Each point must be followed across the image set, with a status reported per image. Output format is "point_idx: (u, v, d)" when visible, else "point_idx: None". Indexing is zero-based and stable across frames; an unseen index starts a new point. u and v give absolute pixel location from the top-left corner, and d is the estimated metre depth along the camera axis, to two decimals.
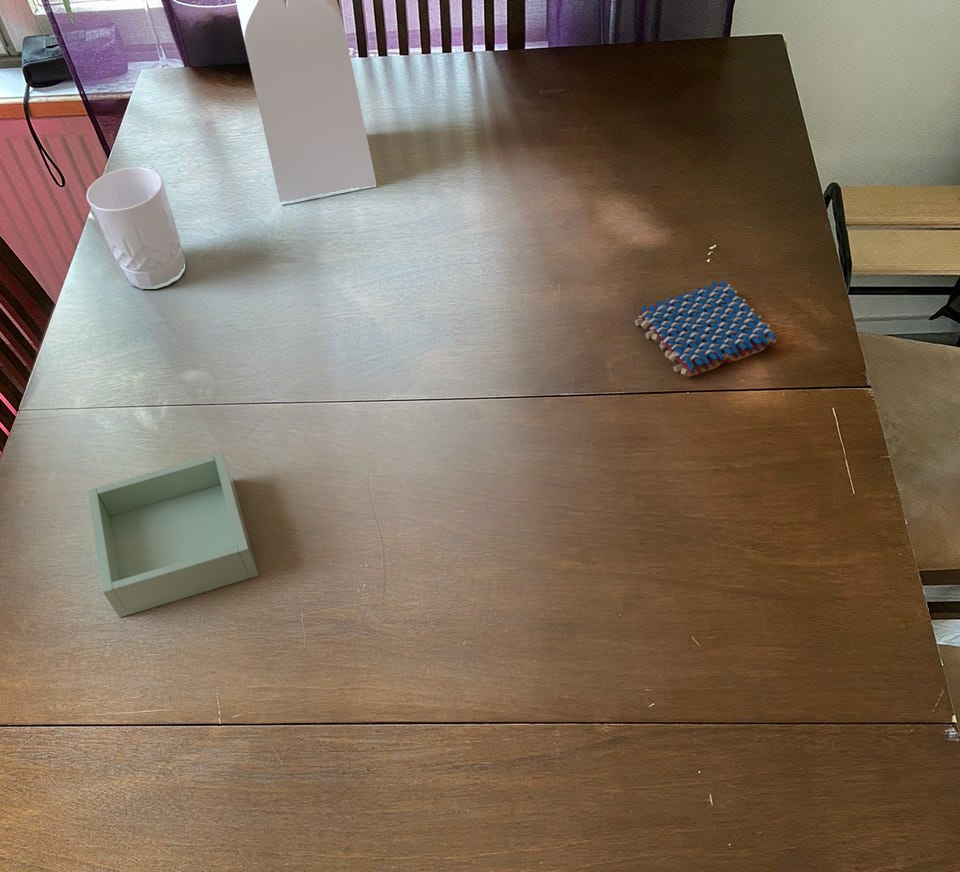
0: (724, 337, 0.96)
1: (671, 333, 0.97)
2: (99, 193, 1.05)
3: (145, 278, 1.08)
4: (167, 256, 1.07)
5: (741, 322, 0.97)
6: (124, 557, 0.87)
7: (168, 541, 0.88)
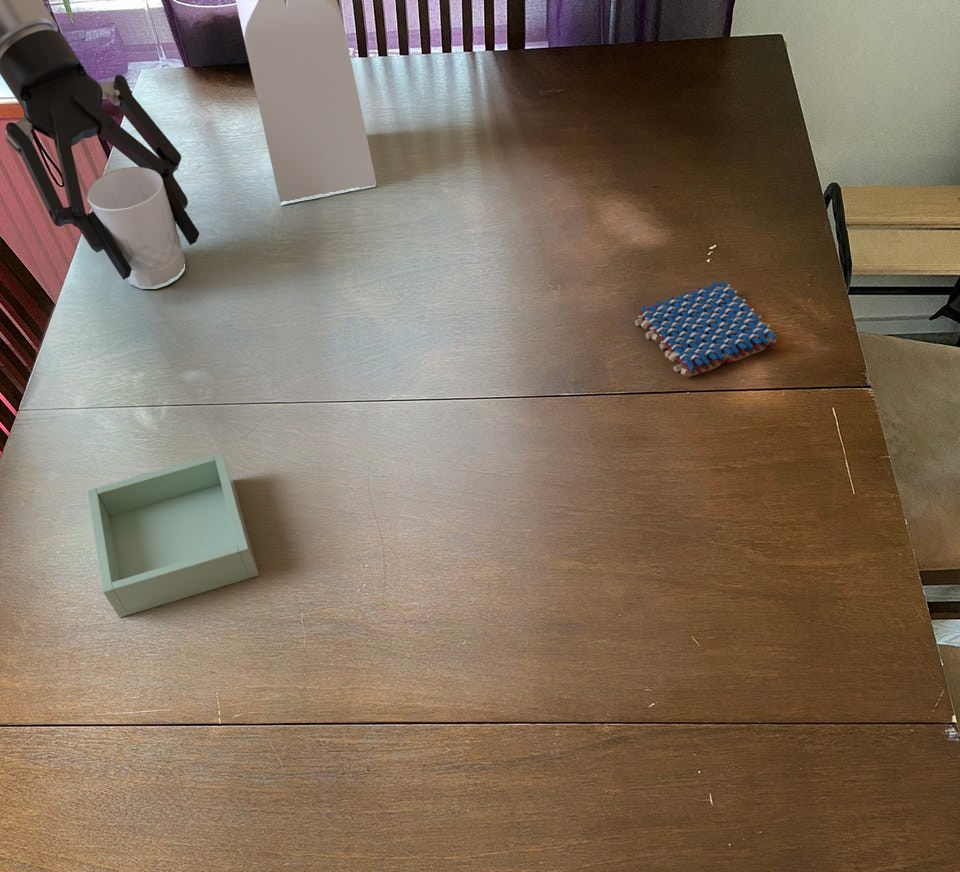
0: (724, 337, 0.96)
1: (671, 333, 0.97)
2: (99, 193, 1.05)
3: (145, 278, 1.08)
4: (167, 256, 1.07)
5: (741, 322, 0.97)
6: (124, 557, 0.87)
7: (168, 541, 0.88)
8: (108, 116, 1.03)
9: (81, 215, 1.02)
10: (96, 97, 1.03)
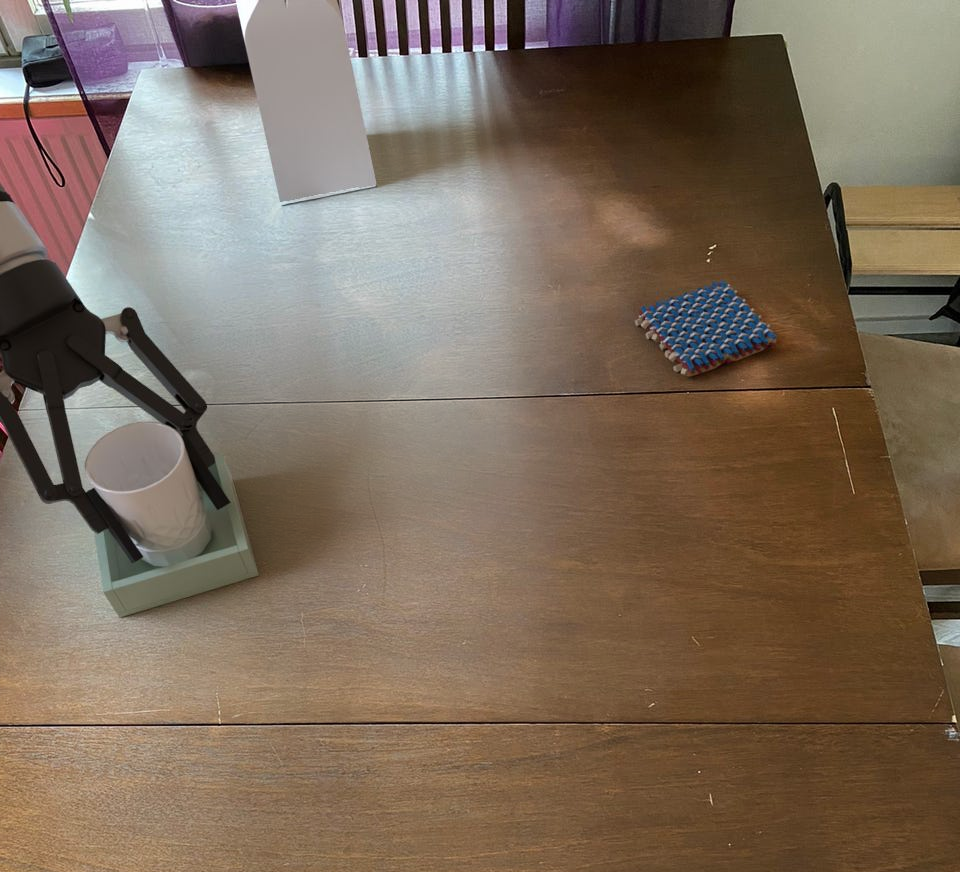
0: (724, 337, 0.96)
1: (671, 333, 0.97)
2: (101, 456, 0.81)
3: (160, 556, 0.84)
4: (189, 531, 0.83)
5: (741, 322, 0.97)
6: (124, 557, 0.87)
7: None
8: (113, 363, 0.79)
9: (78, 494, 0.78)
10: (97, 338, 0.79)
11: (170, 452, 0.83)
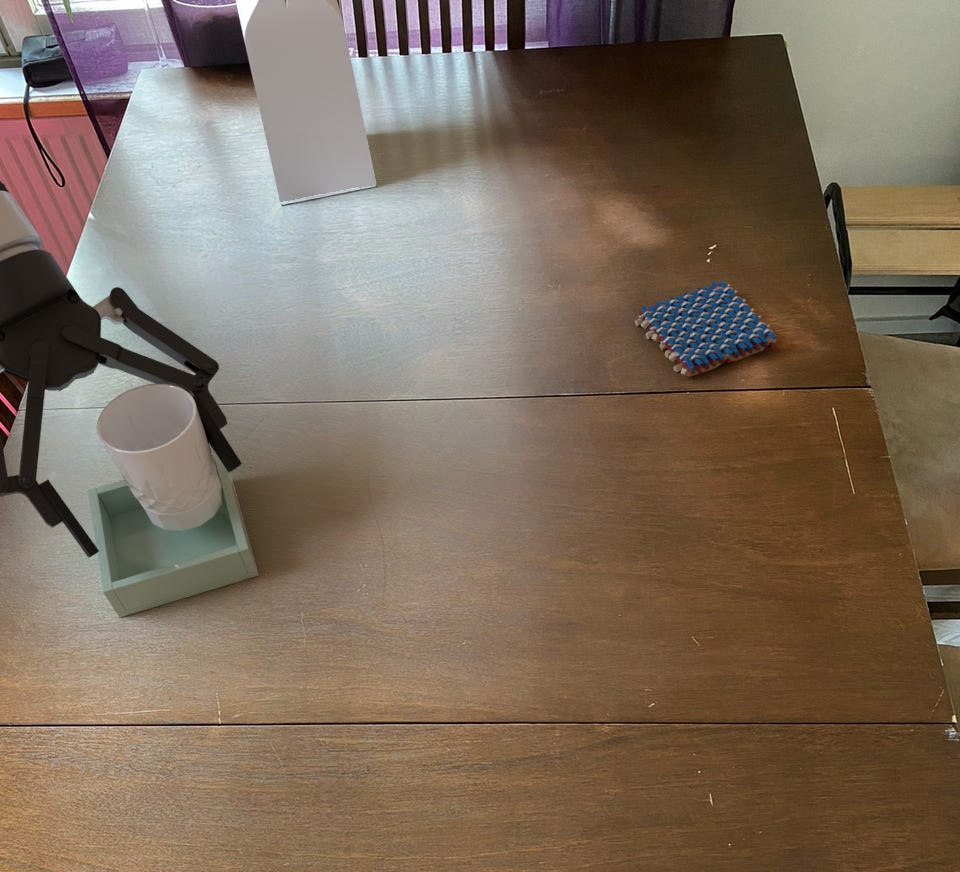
0: (724, 337, 0.96)
1: (671, 333, 0.97)
2: (113, 418, 0.81)
3: (172, 519, 0.84)
4: (200, 494, 0.83)
5: (741, 322, 0.97)
6: (124, 557, 0.87)
7: (168, 541, 0.88)
8: (112, 344, 0.78)
9: (28, 487, 0.76)
10: (96, 327, 0.78)
11: (182, 415, 0.83)
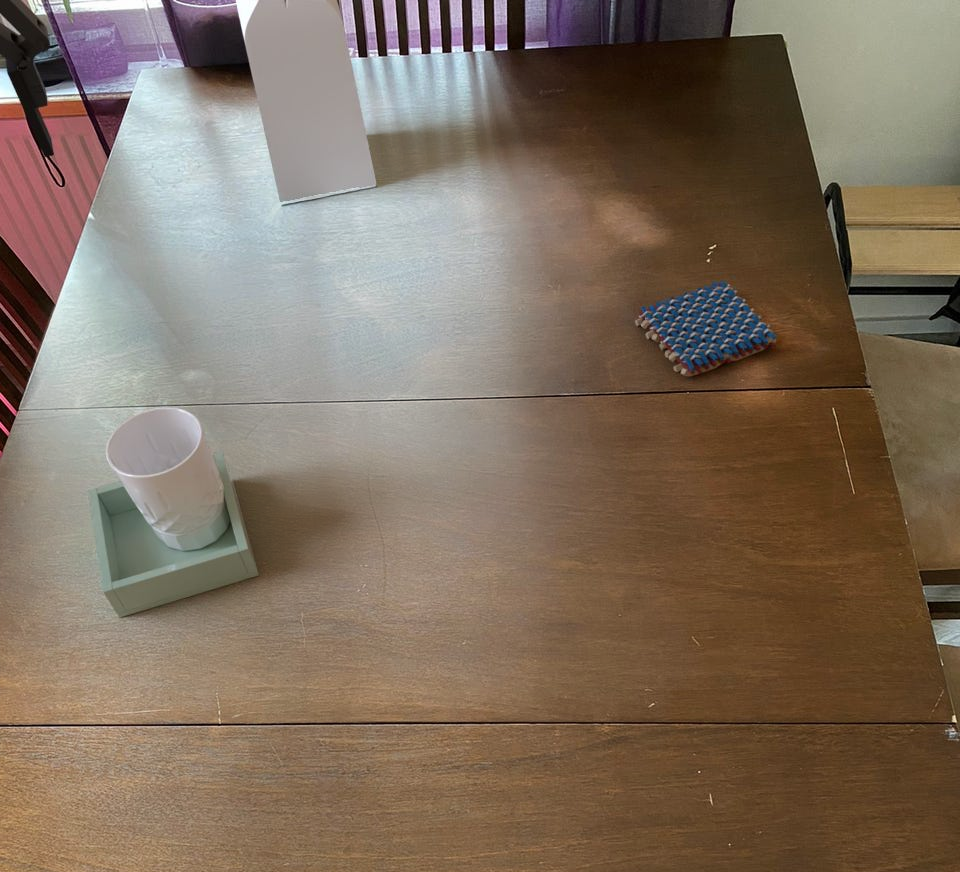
0: (724, 337, 0.96)
1: (671, 333, 0.97)
2: (128, 436, 0.83)
3: (173, 539, 0.86)
4: (201, 520, 0.84)
5: (741, 322, 0.97)
6: (124, 557, 0.87)
7: None
8: None
9: None
10: None
11: (196, 440, 0.84)
